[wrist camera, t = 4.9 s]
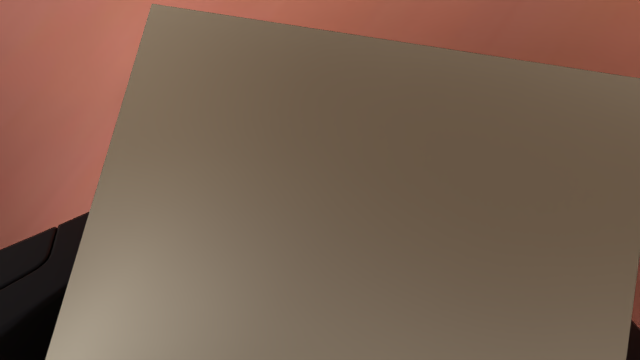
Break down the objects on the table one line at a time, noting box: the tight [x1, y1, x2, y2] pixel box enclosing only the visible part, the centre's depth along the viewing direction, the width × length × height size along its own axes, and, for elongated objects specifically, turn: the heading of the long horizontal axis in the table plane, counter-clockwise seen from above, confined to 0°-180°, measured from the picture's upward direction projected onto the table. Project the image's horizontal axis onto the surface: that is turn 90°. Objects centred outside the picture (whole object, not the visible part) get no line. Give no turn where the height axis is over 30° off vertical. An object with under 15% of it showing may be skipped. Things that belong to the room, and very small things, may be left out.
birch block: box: [45, 4, 640, 360], centre depth 9 cm, size 5×5×11 cm
